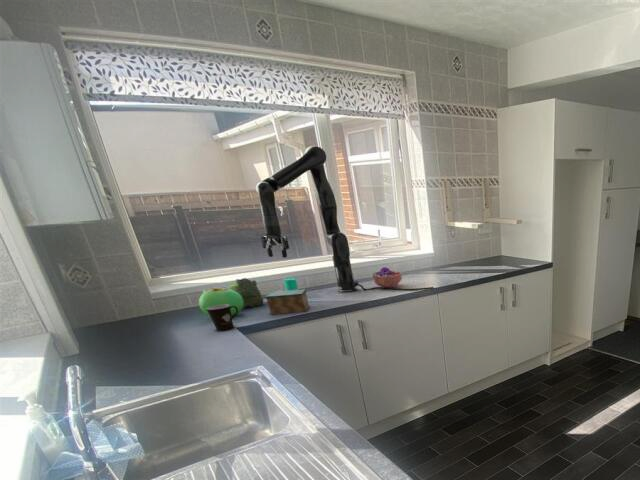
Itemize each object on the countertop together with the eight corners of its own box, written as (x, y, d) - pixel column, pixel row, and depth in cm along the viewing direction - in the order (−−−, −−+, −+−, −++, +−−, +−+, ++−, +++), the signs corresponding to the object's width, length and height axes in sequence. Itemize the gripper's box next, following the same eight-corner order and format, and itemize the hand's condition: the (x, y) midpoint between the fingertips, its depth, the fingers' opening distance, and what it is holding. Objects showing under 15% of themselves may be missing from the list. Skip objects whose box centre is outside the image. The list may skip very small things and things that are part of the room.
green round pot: (200, 323, 197) (189, 292, 190) (209, 314, 211) (199, 285, 204) (244, 318, 202) (234, 288, 196) (250, 309, 217) (241, 281, 210)
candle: (292, 299, 234) (286, 277, 229) (286, 298, 237) (280, 276, 232) (302, 297, 239) (297, 275, 234) (295, 295, 242) (290, 274, 237)
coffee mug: (215, 333, 183) (208, 310, 178) (212, 328, 189) (204, 307, 184) (245, 327, 189) (239, 305, 185) (241, 323, 195) (235, 302, 191)
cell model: (377, 292, 245) (373, 272, 240) (372, 285, 261) (369, 267, 256) (406, 288, 251) (403, 269, 246) (399, 282, 267) (397, 264, 262)
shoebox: (310, 306, 220) (305, 289, 216) (306, 311, 211) (301, 293, 207) (275, 309, 216) (270, 291, 213) (270, 314, 207) (265, 296, 203)
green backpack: (223, 306, 222) (214, 278, 215) (264, 302, 230) (257, 275, 222) (221, 313, 214) (211, 284, 206) (264, 309, 221) (256, 281, 214)
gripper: (288, 224, 219) (294, 257, 226) (265, 223, 222) (271, 255, 229) (278, 225, 213) (284, 258, 219) (254, 224, 216) (261, 257, 222)
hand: (277, 257), depth 224 cm, fingers open, 8 cm apart
